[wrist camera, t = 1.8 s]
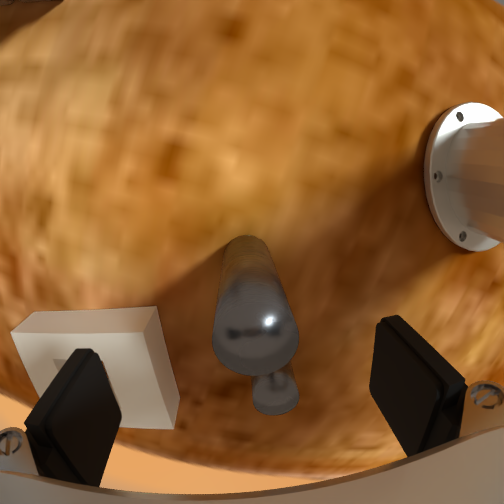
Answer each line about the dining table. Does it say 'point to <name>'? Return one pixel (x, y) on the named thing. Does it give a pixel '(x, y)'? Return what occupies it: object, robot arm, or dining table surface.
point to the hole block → (107, 357)
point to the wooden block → (8, 0)
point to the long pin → (252, 312)
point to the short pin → (275, 391)
